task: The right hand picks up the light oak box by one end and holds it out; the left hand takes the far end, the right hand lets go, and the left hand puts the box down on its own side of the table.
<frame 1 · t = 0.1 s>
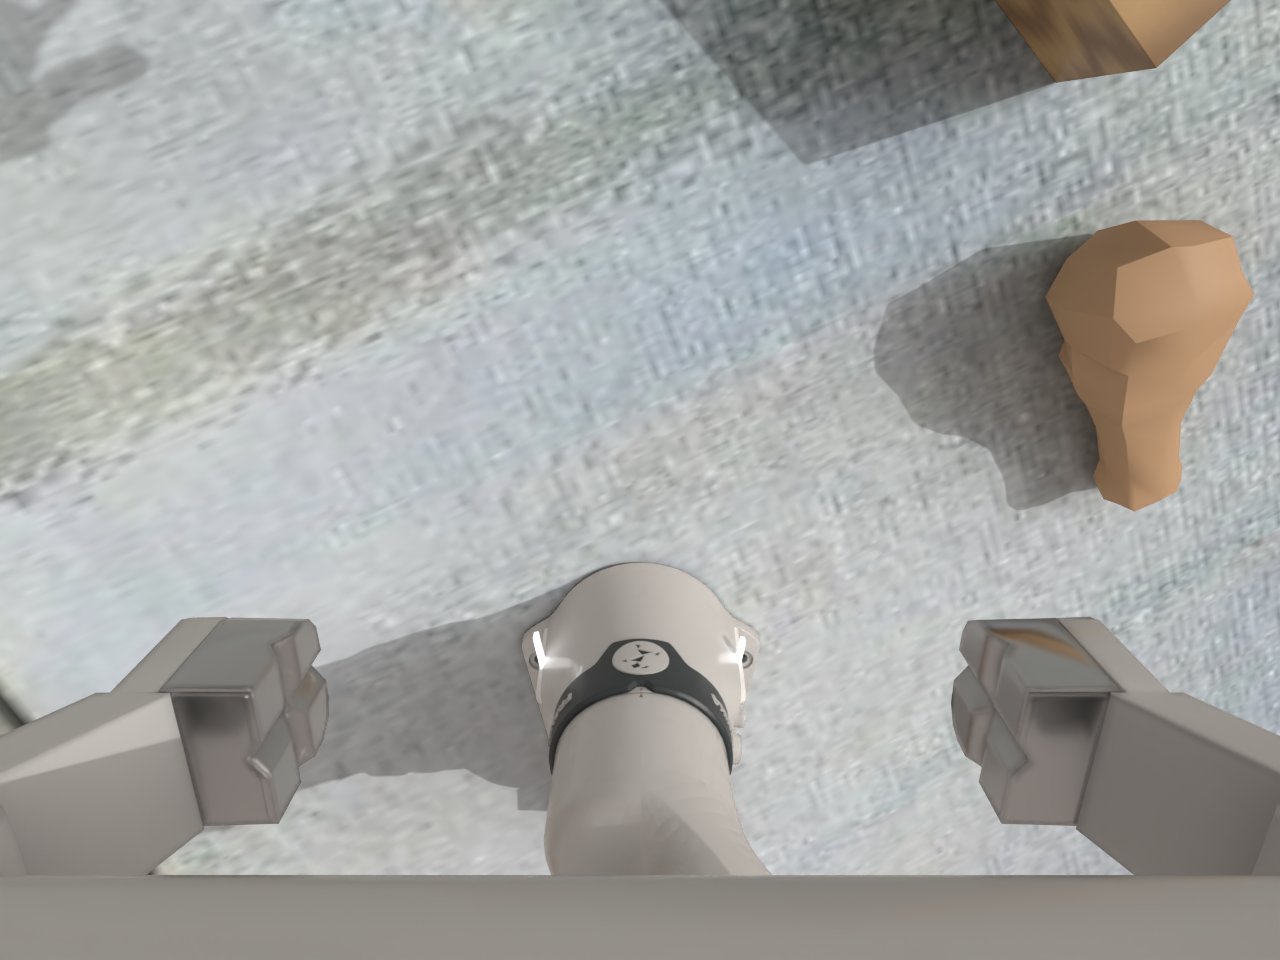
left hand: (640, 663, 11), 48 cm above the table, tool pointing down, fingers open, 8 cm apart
squash: (1115, 355, 58), on the table
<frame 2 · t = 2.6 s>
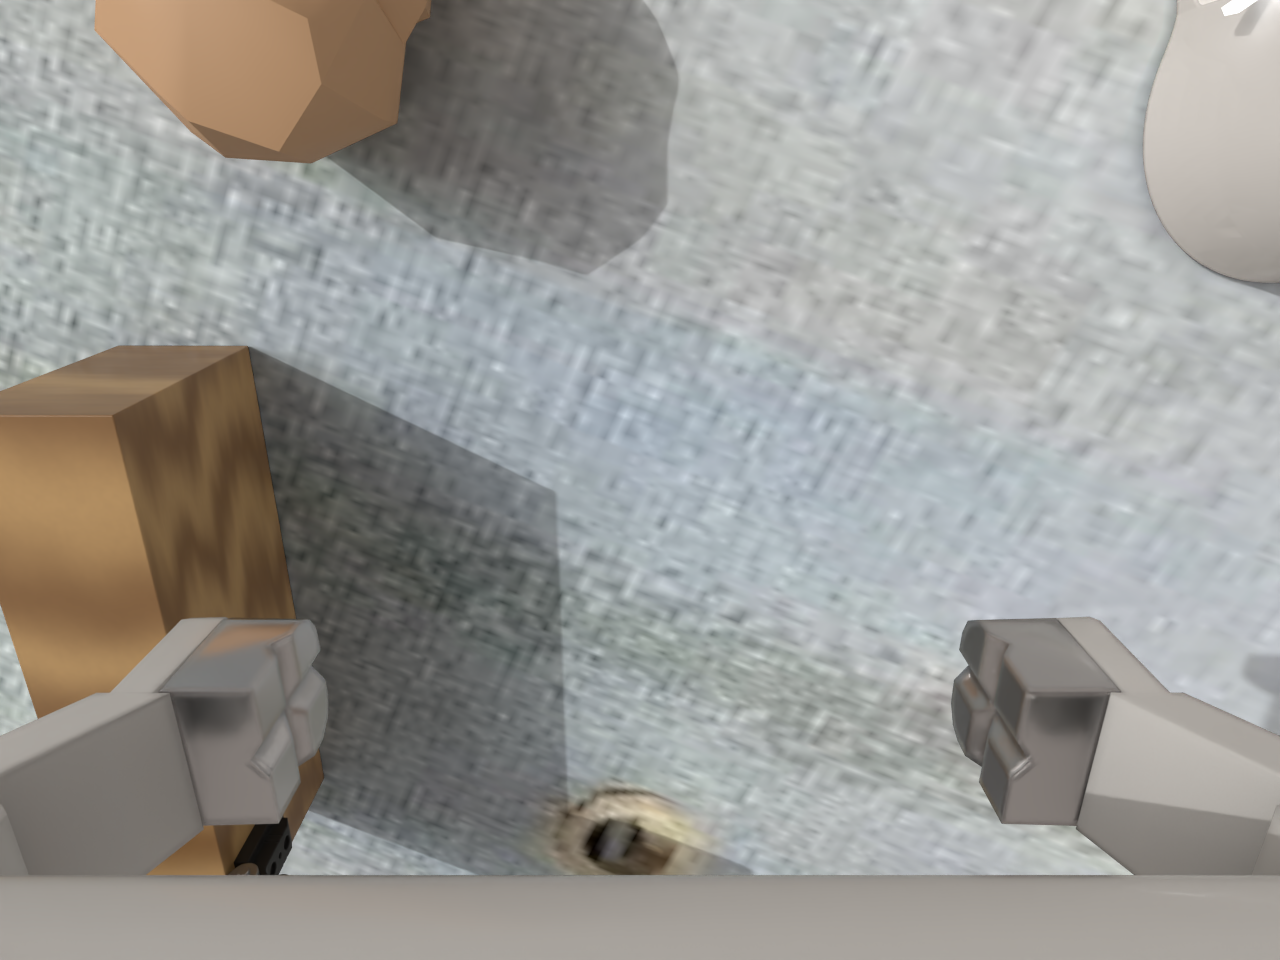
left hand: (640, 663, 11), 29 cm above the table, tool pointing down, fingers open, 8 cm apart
box: (232, 585, 43), on the table, touching right hand
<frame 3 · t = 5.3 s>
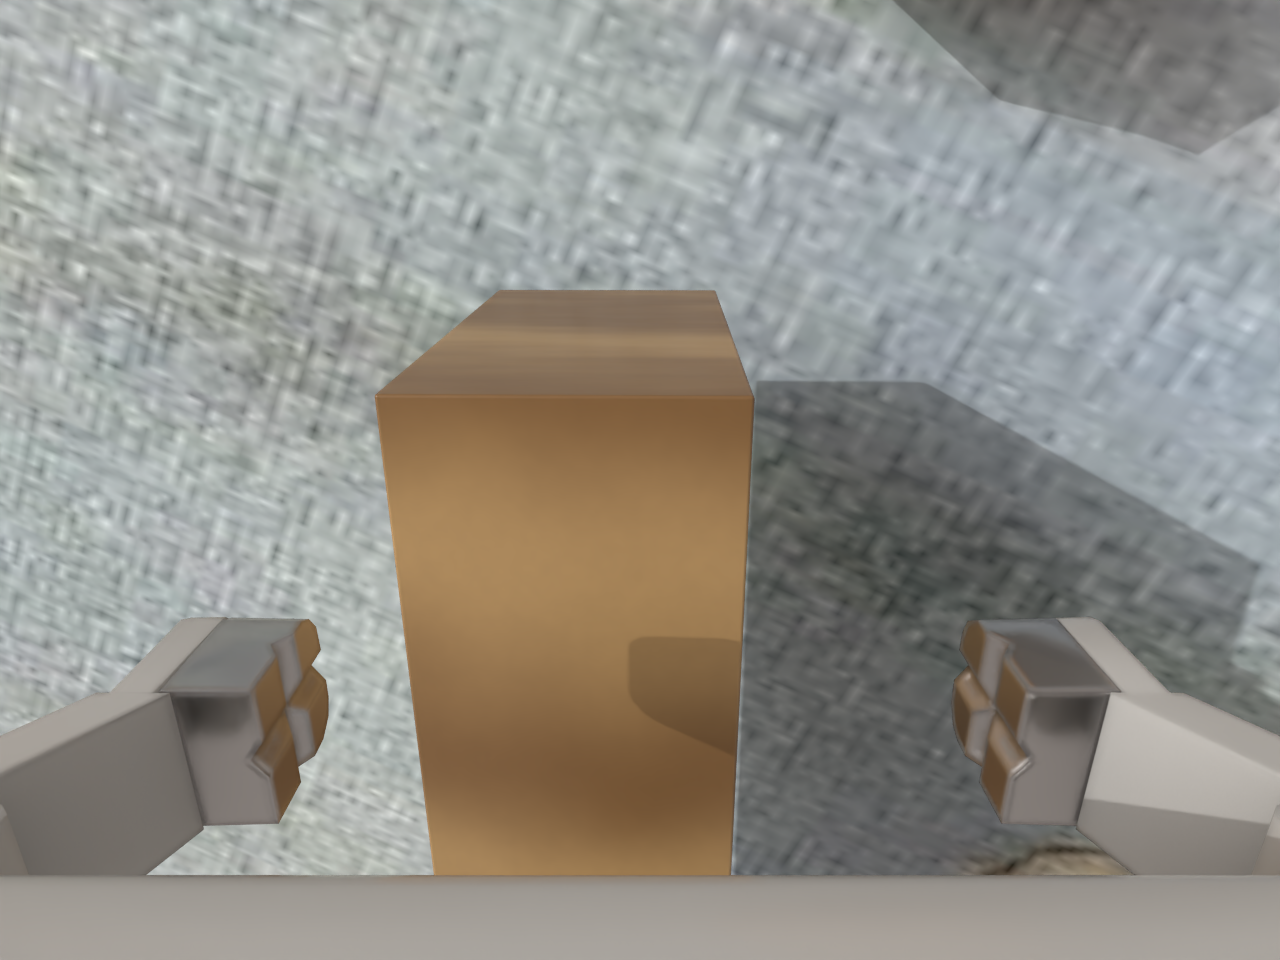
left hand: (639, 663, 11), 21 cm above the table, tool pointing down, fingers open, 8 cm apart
box: (613, 674, 28), point 6 cm above the table, touching right hand
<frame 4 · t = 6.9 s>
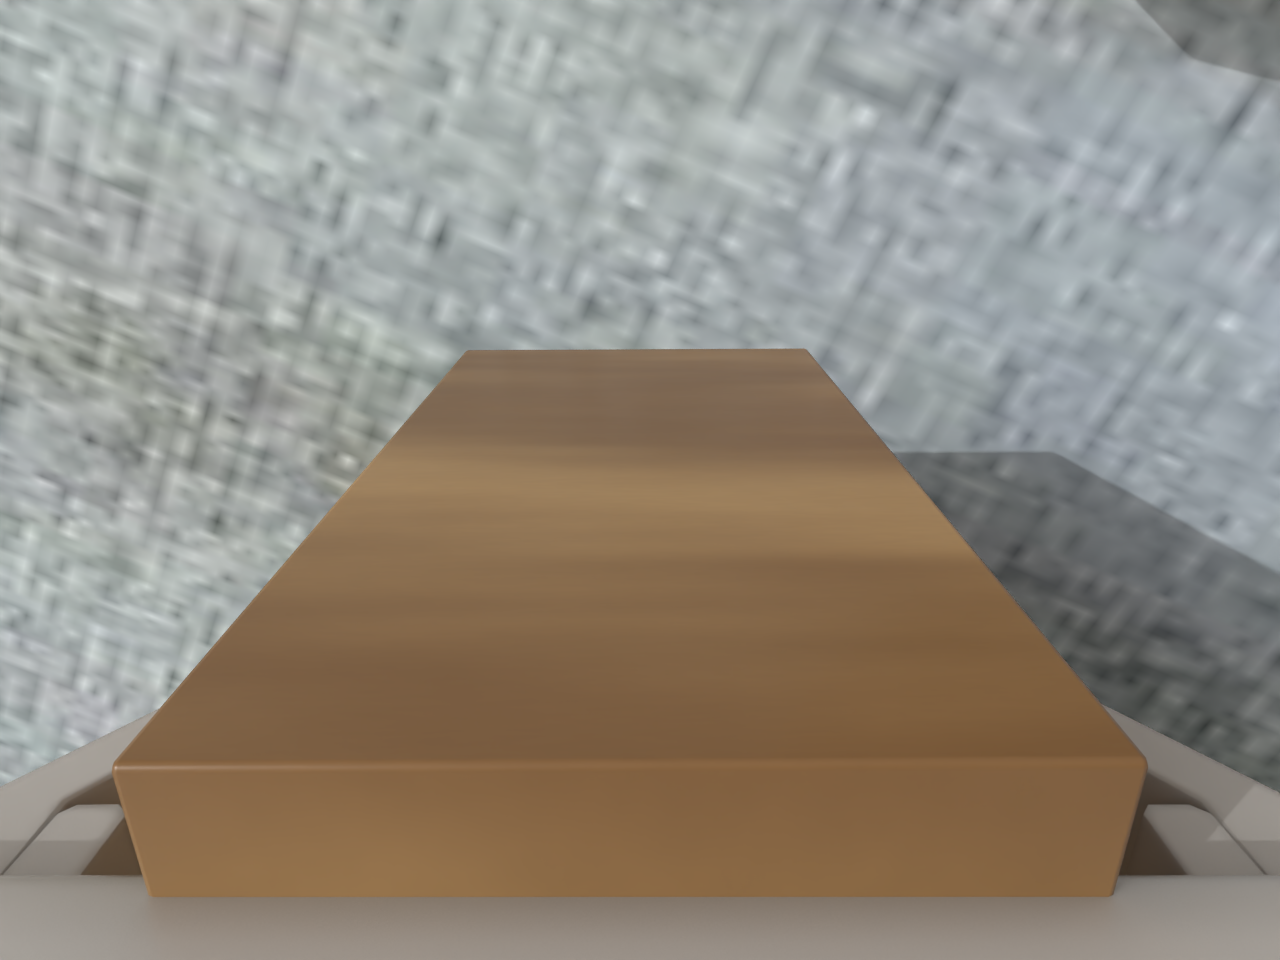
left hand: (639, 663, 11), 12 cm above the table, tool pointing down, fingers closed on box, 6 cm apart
box: (639, 884, 19), point 6 cm above the table, touching left hand, right hand
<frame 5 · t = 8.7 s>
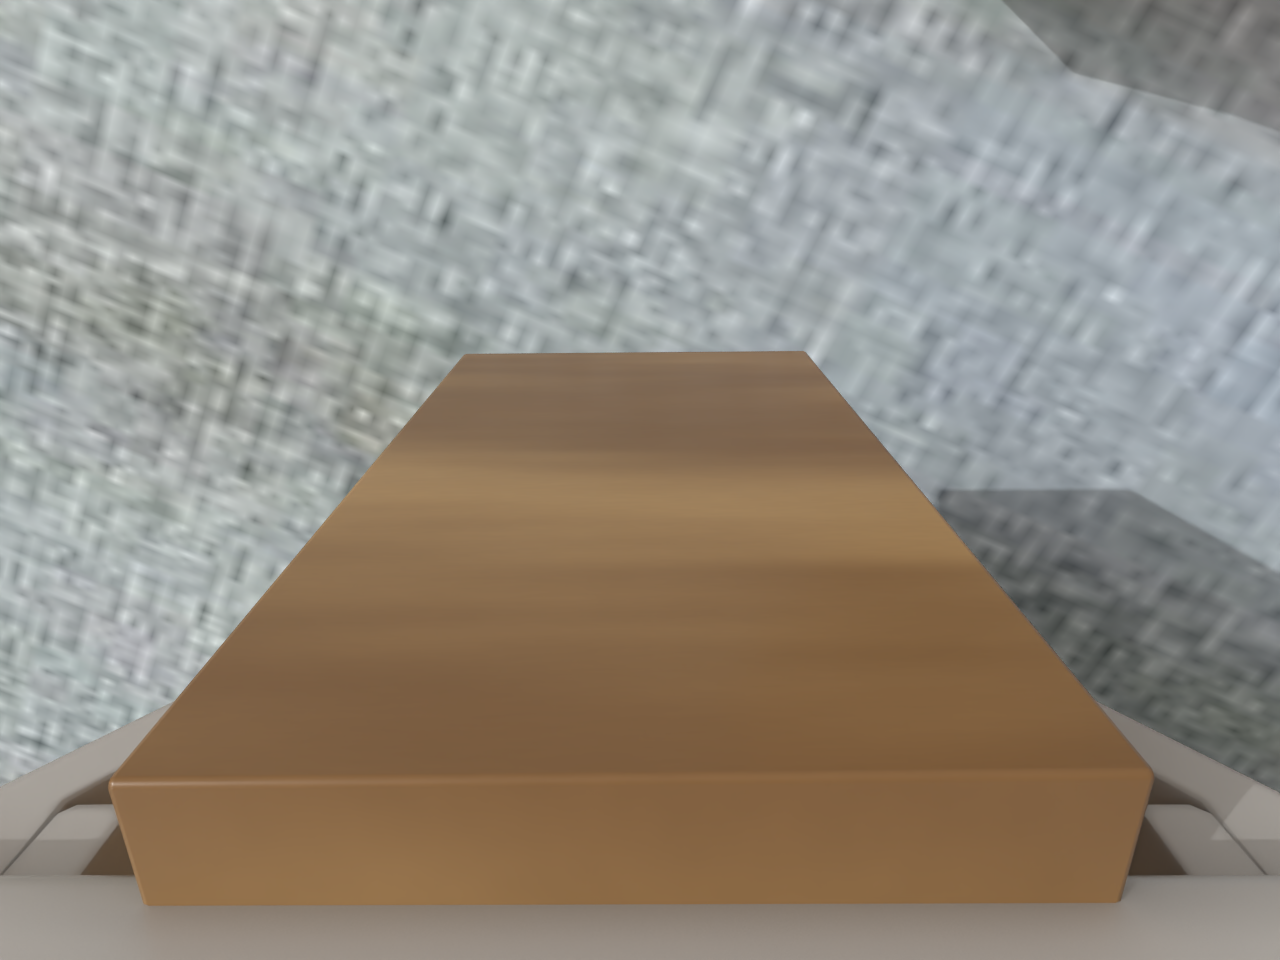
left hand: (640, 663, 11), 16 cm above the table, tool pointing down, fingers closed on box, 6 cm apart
box: (640, 887, 19), point 10 cm above the table, touching left hand
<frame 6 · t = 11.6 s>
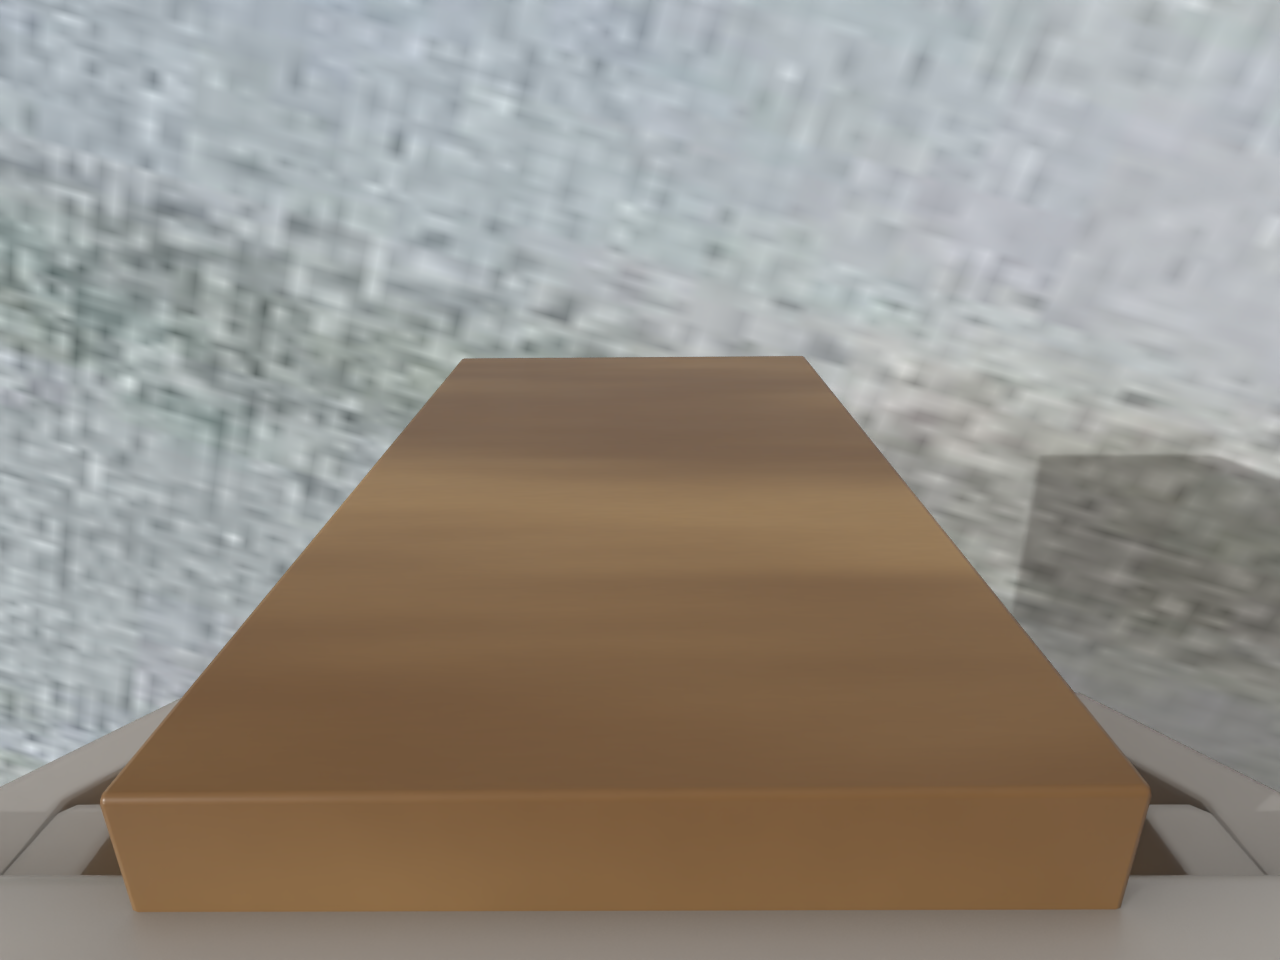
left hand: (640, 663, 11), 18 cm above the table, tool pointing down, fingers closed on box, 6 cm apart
box: (638, 892, 19), point 12 cm above the table, touching left hand
when the left hand's fingers open (6 cm above the table, at t = 16.4 s): box stays where it is, on the table.
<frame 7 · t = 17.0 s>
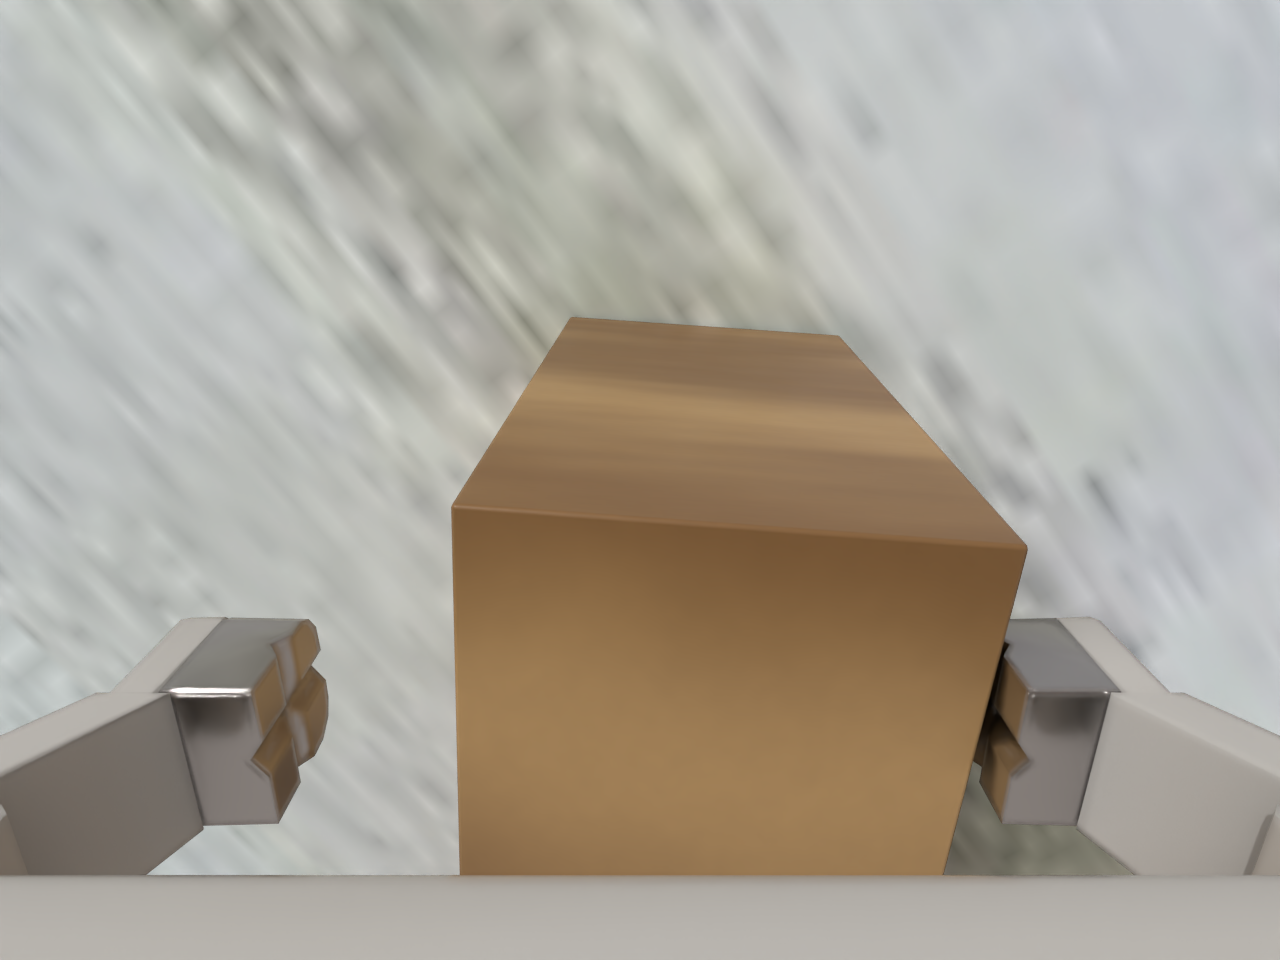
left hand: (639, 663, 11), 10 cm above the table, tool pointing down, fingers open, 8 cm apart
box: (663, 776, 23), on the table, touching left hand
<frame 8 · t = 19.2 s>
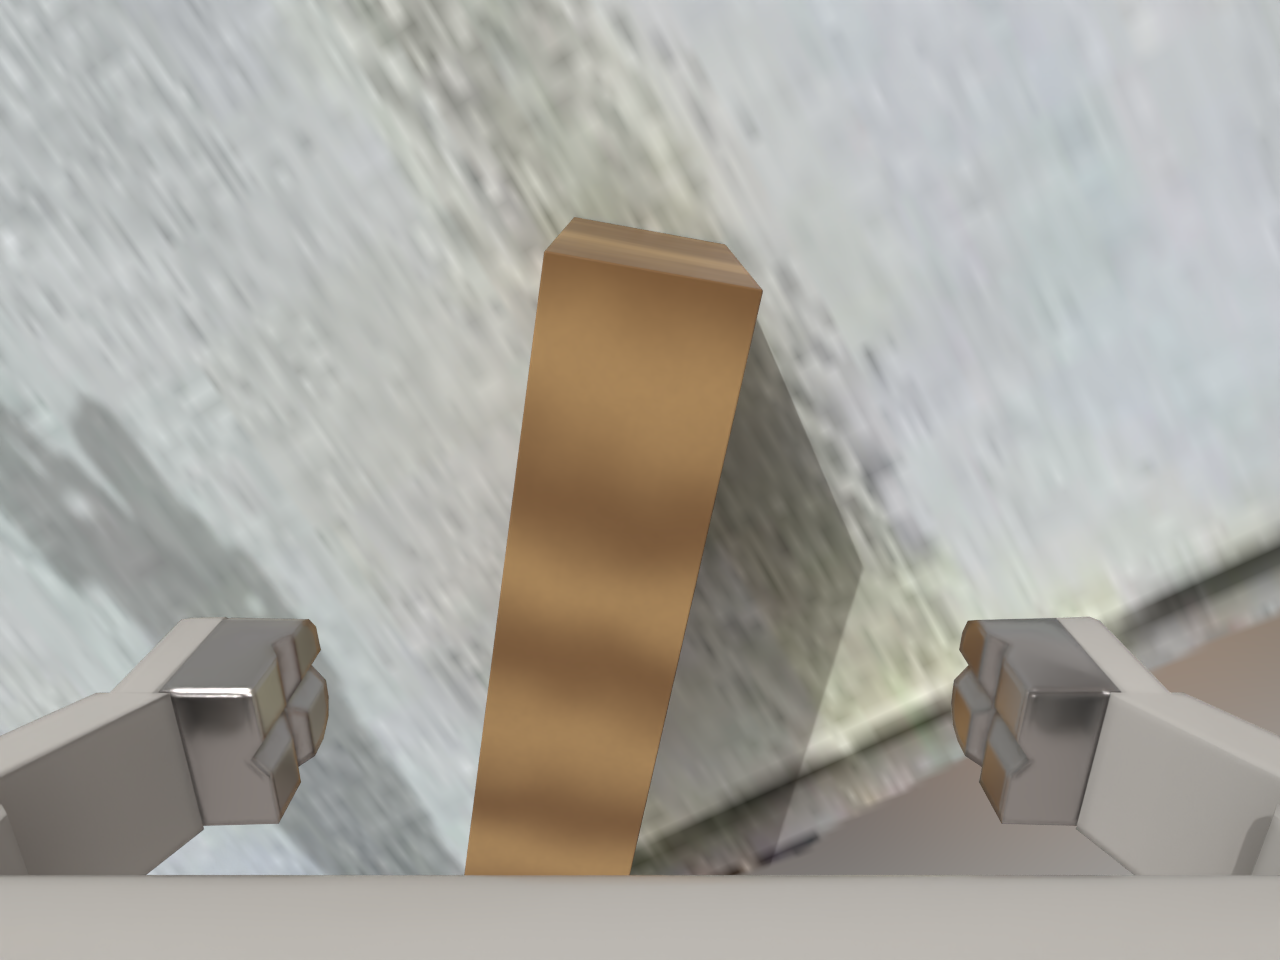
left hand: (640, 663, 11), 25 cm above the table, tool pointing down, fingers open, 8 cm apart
box: (600, 520, 37), on the table
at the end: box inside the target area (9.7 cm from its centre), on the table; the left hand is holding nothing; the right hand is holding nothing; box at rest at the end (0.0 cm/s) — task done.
